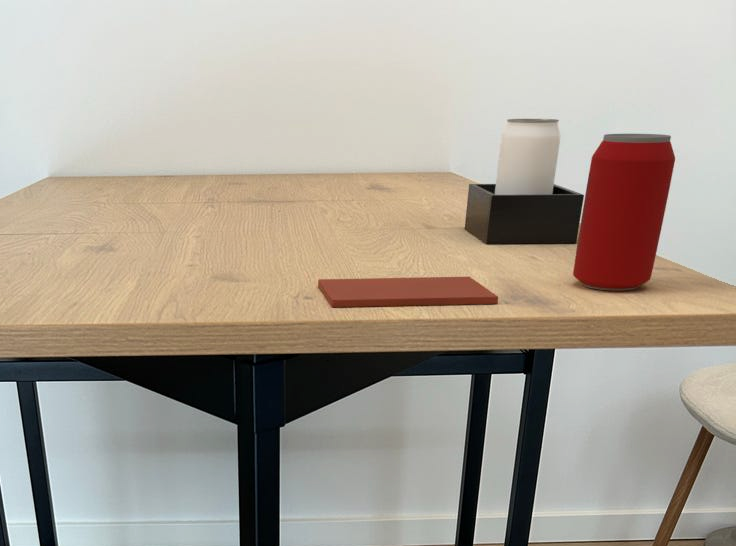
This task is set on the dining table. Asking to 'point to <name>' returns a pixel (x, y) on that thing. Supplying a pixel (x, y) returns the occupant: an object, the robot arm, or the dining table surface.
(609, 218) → the beverage can
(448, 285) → the mat
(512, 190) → the can
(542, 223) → the box
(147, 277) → the dining table surface
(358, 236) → the dining table surface
